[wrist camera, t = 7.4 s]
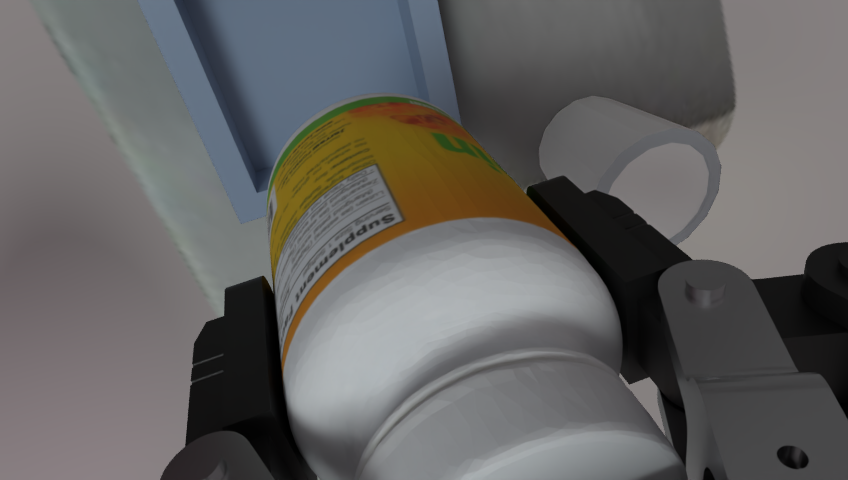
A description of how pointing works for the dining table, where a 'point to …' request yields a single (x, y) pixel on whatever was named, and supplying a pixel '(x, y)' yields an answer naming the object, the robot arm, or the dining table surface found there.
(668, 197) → the shot glass
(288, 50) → the tray
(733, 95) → the dining table surface
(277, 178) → the supplement bottle
